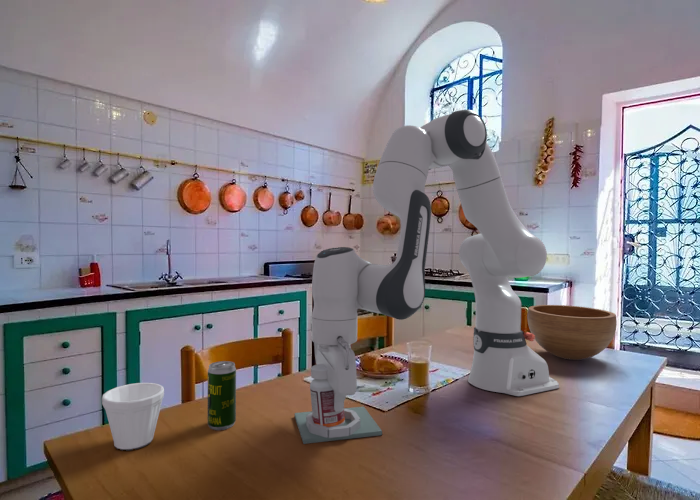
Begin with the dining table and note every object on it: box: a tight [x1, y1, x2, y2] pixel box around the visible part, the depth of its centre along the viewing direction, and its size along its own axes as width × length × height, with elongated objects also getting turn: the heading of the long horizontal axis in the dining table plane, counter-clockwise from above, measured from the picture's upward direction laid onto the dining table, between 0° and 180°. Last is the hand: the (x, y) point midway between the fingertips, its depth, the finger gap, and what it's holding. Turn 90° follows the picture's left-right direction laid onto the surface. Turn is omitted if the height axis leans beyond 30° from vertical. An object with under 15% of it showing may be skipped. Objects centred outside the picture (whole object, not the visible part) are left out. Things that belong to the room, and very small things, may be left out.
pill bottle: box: [309, 364, 345, 427], centre depth 83 cm, size 6×6×11 cm
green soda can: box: [207, 360, 237, 431], centre depth 84 cm, size 5×5×12 cm
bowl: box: [527, 304, 617, 361], centre depth 136 cm, size 25×25×15 cm
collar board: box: [294, 406, 383, 445], centre depth 85 cm, size 15×12×2 cm
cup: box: [101, 382, 165, 451], centre depth 77 cm, size 10×10×9 cm
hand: (333, 402), depth 83 cm, fingers closed on pill bottle, 6 cm apart
